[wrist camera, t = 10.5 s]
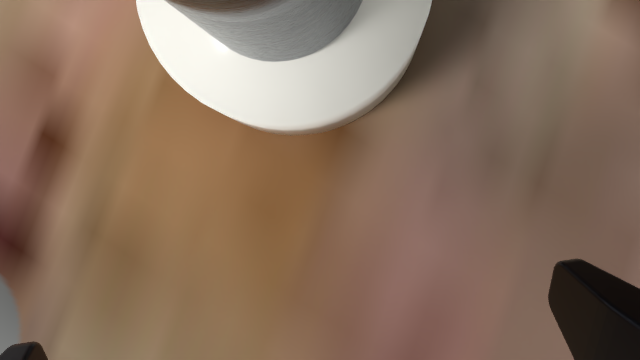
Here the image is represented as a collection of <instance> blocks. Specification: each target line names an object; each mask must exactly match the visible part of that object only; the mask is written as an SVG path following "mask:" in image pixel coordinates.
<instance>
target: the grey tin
mask: <svg viewBox="0 0 640 360" xmlns="http://www.w3.org/2000/svg"><path fill="white" fill-rule="evenodd" d="M165 1H166V2H167V3H169V4H170V5H171V6H173V7H174V8H175V9H176V10H178V11H179V12H180V13H182V14H183V15H184V16H186V17H187V18H188V19H190V20H191V21H192V22H194V23H195V24H196V25H198V26H199V27H200V28H202V29H203V30H204V31H206V32H207V33H208V34H210V35H211V36H212V37H214V38H215V39H216V40H218V41H219V42H220V43H222V44H223V45H225V46H226V47H227V48H229V49H230V50H232V51H234V52H236V53H238V54H240V55H242V56H245V57H248V58H251V59H255V60H260V61H270V62H279V61H289V60H294V59H299V58H302V57H304V56H307V55H310V54H312V53H314V52H316V51H318V50H320V49H322V48H323V47H325V46H326V45H328V44H329V43H331V42H332V41H333V40H334V39H335V38H336V37H338V36H339V35H340V34H341V33H342V32H343V31H344V29H345V28H346V27H347V26H348V25H349V24H350V22H351V21H352V19H353V18H354V16H355V15H356V13H357V11H358V9H359V7H360V5H361V3H362V0H165Z"/></svg>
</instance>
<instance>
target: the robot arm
mask: <svg viewBox="0 0 640 360" xmlns="http://www.w3.org/2000/svg"><path fill="white" fill-rule="evenodd" d="M548 300H549V305H550V308H551V311H552V313H553V315H554V317H555V319H556V321H557V323H558V326H559V328H560V330H561V332H562V334H563V336H564V338H565V340H566V343H567V345H568V347H569V349H570V351H571V353H572V355H573V358H574V360H640V289H639V288H637V287H635V286H633V285H631V284H629V283H627V282H625V281H623V280H621V279H619V278H617V277H615V276H614V275H612V274H610V273H608V272H606V271H604V270H602V269H600V268H598V267H596V266H594V265H592V264H590V263H588V262H586V261H584V260H581V259H571V260H564V261H560V262H557V264H556V265H555V267H554V270H553V275H552V280H551V285H550V289H549V294H548ZM0 360H48V358H47V356H46V354H45V352H44V350H43V348H42V346H41V345H40V344H39V343H38V342H27V343H21V344H15V345H12V346H10V347H9V348H7V349H6V350H5V351H4V352H3V353H2V354H1V355H0Z"/></svg>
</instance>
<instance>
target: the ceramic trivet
mask: <svg viewBox="0 0 640 360" xmlns="http://www.w3.org/2000/svg"><path fill="white" fill-rule="evenodd" d="M431 3H432V0H362V3H361V5H360V7H359V9H358V11H357V13H356V15H355V16H354V18H353V19H352V21H351V22H350V24H349V25H348V26H347V27H346V28H345V29H344V31H343V32H342V33H341V34H340V35H339V36H338V37H336V38H335V39H334V40H333V41H332V42H331V43H329V44H328V45H326V46H325V47H323V48H322V49H320V50H318V51H316V52H314V53H312V54H310V55H307V56H304V57H302V58H299V59H294V60H289V61H279V62H270V61H260V60H255V59H251V58H248V57H245V56H242V55H240V54H238V53H236V52H234V51H232V50H230V49H229V48H227V47H226V46H225V45H223V44H222V43H220V42H219V41H218V40H216V39H215V38H214V37H212V36H211V35H210V34H208V33H207V32H206V31H204V30H203V29H202V28H200V27H199V26H198V25H196V24H195V23H194V22H192V21H191V20H190V19H188V18H187V17H186V16H184V15H183V14H182V13H180V12H179V11H178V10H176V9H175V8H174V7H173V6H171V5H170V4H169V3H167V2H166V1H165V0H136V4H137V10H138V14H139V17H140V21H141V24H142V28H143V30H144V33H145V35H146V37H147V40H148V42H149V44H150V47H151V48H152V50H153V52H154V53H155V55H156V57H157V58H158V60H159V62H160V63H161V64H162V66H163V67H164V68H165V69H166V71H167V72H168V73H169V74H170V76H171V77H172V78H173V79H174V80H175V81H176V82H177V83H178V84H179V85H180V86H181V87H182V88H183V89H184V90H185V91H187V92H188V93H189V94H191V95H192V96H193V97H195V98H196V99H198V100H199V101H200V102H202V103H203V104H205V105H207V106H209V107H211V108H213V109H215V110H216V111H218V112H220V113H222V114H224V115H226V116H228V117H230V118H232V119H234V120H236V121H238V122H240V123H242V124H244V125H247V126H249V127H252V128H254V129H257V130H260V131H264V132H269V133H273V134H280V135H291V136H293V135H310V134H316V133H322V132H326V131H330V130H333V129H336V128H339V127H342V126H344V125H346V124H348V123H350V122H353V121H355V120H356V119H358V118H360V117H361V116H363V115H365V114H366V113H368V112H369V111H370V110H372V109H373V108H374V107H375V106H377V105H378V104H379V103H380V102H382V101H383V100H384V98H385V97H386V96H387V95H388V94H389V93H390V92H391V91H392V90H393V89H394V88H395V86H396V85H397V83H398V82H399V81H400V79H401V78H402V77H403V75H404V73H405V71H406V70H407V68H408V66H409V64H410V62H411V60H412V58H413V55H414V53H415V50H416V47H417V45H418V42H419V39H420V37H421V34H422V31H423V29H424V26H425V23H426V21H427V18H428V15H429V12H430V7H431Z"/></svg>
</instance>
